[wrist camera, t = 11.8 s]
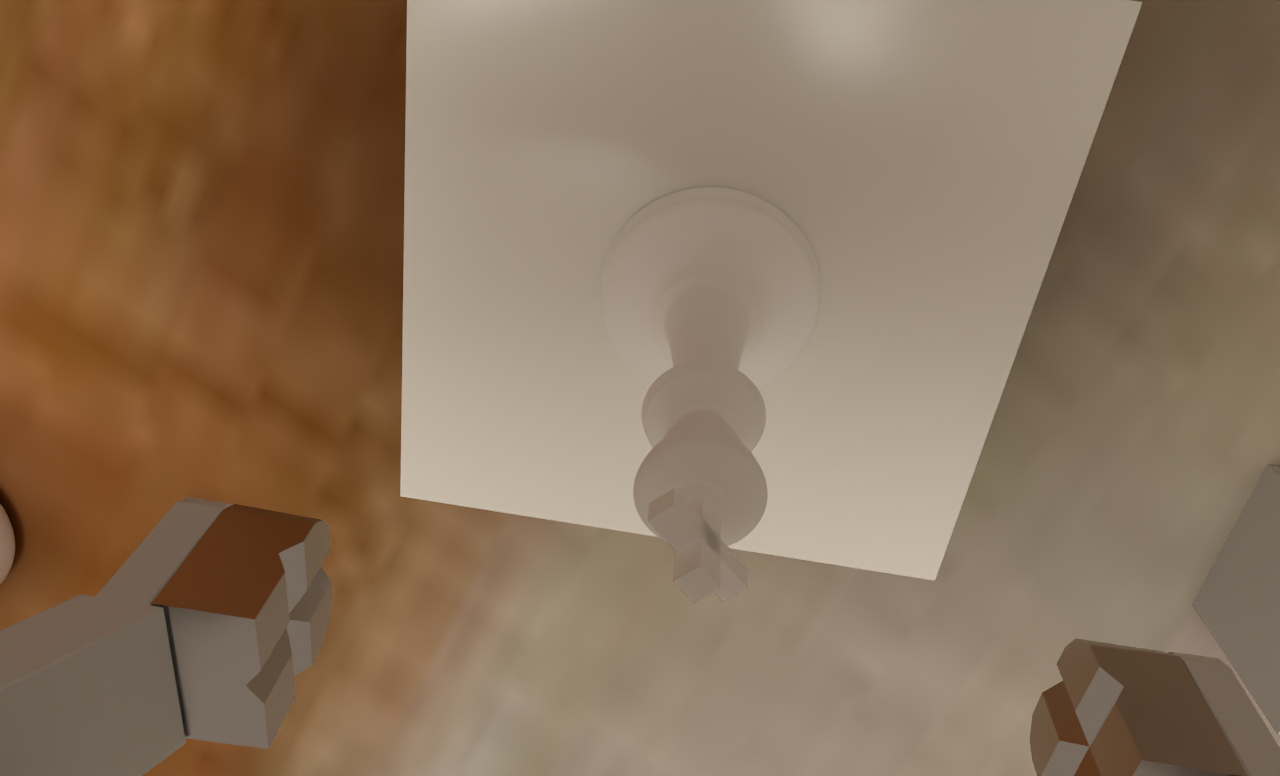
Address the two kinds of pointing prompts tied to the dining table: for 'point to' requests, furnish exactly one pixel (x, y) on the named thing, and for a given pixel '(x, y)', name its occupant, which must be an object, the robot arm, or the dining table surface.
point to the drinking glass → (6, 544)
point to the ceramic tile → (764, 167)
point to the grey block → (1250, 596)
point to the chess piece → (707, 362)
